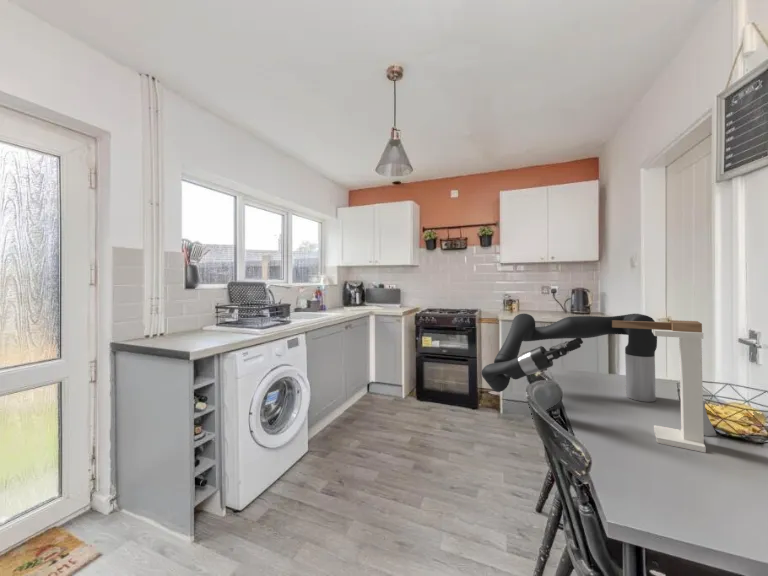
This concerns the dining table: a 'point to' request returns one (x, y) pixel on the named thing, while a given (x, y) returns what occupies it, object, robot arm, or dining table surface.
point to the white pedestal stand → (687, 394)
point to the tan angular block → (661, 325)
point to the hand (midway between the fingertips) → (580, 341)
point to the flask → (707, 423)
